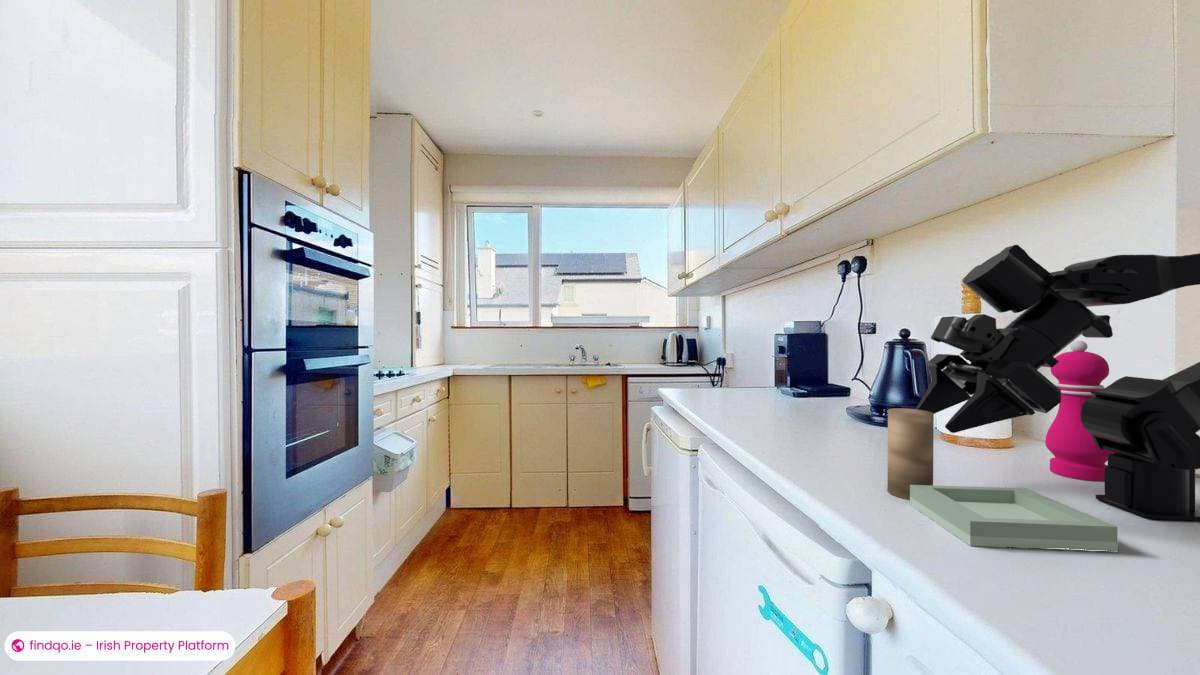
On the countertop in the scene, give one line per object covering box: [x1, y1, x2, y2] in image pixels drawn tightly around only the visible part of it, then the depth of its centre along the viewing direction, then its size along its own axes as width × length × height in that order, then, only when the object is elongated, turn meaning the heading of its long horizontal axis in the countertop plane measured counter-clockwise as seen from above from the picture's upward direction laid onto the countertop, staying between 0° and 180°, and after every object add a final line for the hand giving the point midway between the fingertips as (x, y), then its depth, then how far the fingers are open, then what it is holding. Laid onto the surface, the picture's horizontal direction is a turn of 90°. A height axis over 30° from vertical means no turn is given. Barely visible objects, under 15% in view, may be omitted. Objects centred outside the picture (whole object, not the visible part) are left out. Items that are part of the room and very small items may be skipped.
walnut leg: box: [886, 407, 935, 501], centre depth 60 cm, size 5×5×11 cm
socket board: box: [909, 484, 1119, 551], centre depth 50 cm, size 13×11×2 cm
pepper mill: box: [1044, 340, 1114, 482], centre depth 67 cm, size 7×7×20 cm
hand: (930, 422), depth 59 cm, fingers open, 9 cm apart
